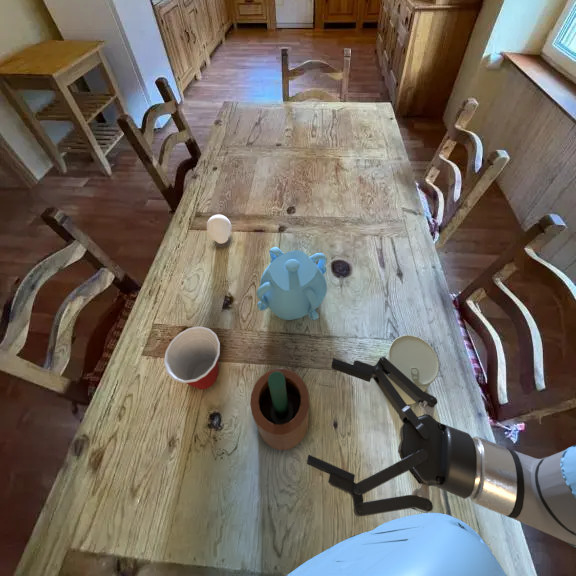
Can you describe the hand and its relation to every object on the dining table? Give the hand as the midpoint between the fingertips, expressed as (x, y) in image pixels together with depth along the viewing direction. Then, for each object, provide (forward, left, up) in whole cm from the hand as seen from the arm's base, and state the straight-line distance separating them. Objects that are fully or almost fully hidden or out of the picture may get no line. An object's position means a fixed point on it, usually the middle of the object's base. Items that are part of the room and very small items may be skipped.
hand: (320, 406), depth 53 cm
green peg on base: (0, +7, -18) cm, 19 cm away
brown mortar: (0, +7, -19) cm, 20 cm away
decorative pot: (+26, +14, -19) cm, 35 cm away
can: (+15, -14, -19) cm, 28 cm away
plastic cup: (+2, +26, -19) cm, 32 cm away
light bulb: (+35, +39, -19) cm, 56 cm away
